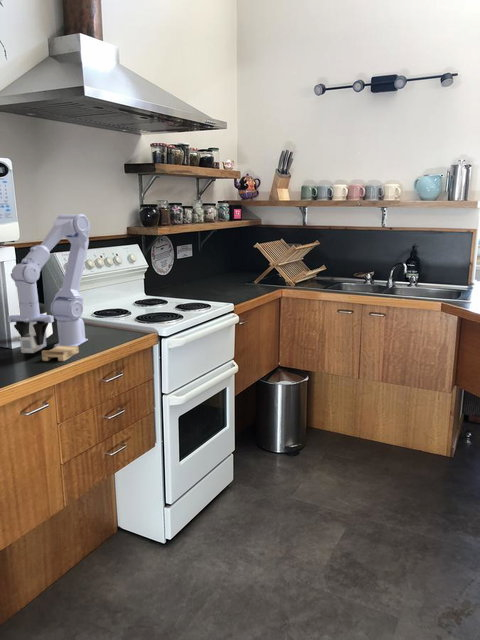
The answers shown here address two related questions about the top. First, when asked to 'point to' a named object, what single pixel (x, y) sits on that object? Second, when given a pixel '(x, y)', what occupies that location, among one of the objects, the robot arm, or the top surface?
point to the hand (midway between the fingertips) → (33, 344)
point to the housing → (31, 343)
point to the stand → (60, 353)
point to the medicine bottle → (42, 312)
